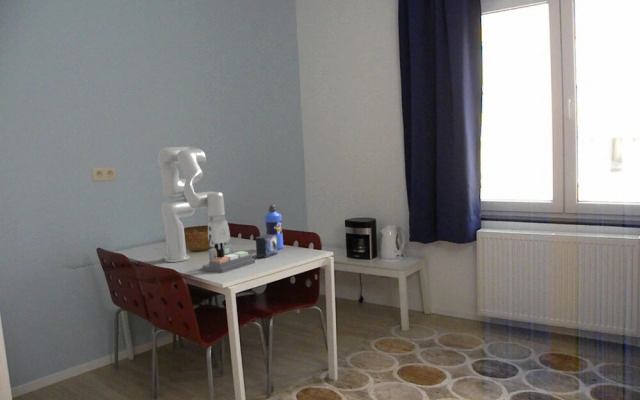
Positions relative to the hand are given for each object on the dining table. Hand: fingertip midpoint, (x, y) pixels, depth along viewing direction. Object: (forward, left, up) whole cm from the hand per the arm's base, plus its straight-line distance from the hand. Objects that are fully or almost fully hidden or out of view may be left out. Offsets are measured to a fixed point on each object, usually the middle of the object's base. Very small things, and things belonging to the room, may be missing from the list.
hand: (220, 257), depth 237 cm
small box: (0, +32, -6) cm, 33 cm away
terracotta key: (0, 0, -3) cm, 3 cm away
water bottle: (-8, +47, -6) cm, 48 cm away
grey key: (0, +7, -2) cm, 7 cm away
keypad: (-2, +7, -6) cm, 9 cm away
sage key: (0, +13, -2) cm, 13 cm away
